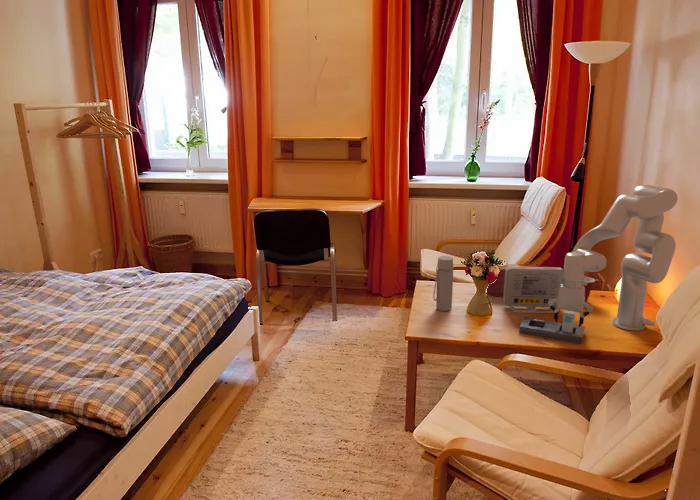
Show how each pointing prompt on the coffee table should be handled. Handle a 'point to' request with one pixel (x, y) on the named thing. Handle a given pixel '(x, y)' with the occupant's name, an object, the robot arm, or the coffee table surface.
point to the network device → (531, 287)
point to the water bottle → (444, 283)
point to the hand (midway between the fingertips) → (568, 323)
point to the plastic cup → (588, 286)
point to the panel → (550, 330)
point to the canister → (498, 282)
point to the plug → (568, 322)
